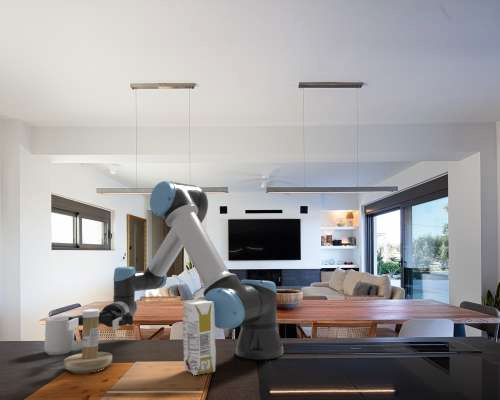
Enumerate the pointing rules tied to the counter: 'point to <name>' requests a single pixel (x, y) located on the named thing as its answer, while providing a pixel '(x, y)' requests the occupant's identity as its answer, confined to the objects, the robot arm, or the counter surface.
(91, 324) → the spice jar
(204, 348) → the juice carton
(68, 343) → the mug
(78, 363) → the disc
